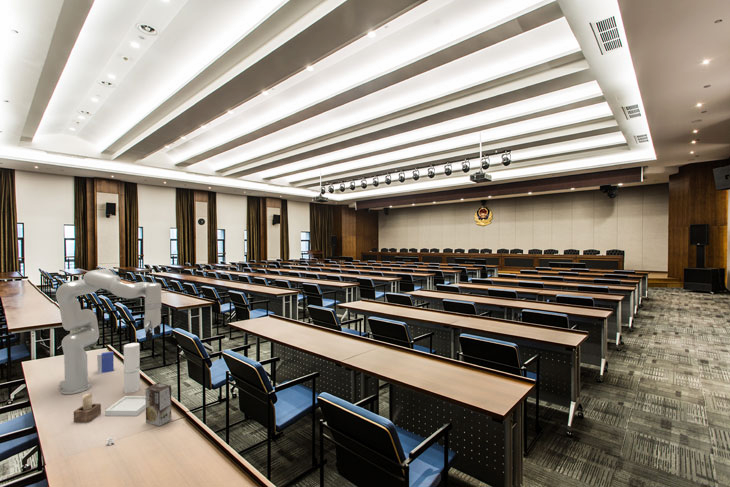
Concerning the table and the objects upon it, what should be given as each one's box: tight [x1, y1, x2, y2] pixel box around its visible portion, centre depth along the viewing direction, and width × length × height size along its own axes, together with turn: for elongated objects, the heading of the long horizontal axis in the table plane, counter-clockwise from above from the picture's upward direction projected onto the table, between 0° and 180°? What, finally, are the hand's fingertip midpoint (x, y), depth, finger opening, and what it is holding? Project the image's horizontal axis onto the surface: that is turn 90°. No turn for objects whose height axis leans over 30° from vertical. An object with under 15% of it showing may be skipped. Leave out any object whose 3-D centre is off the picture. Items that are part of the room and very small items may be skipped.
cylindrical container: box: [123, 342, 141, 394], centre depth 185 cm, size 7×7×25 cm
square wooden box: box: [73, 403, 102, 423], centre depth 157 cm, size 7×7×5 cm
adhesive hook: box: [105, 436, 115, 447], centre depth 139 cm, size 3×3×3 cm
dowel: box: [82, 392, 93, 410], centre depth 157 cm, size 3×3×11 cm
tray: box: [104, 395, 146, 417], centre depth 167 cm, size 15×14×2 cm
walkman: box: [96, 350, 115, 375], centre depth 207 cm, size 8×3×12 cm, turn 127°
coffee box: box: [144, 382, 172, 427], centre depth 156 cm, size 9×6×16 cm
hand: (153, 337), depth 182 cm, fingers open, 9 cm apart
